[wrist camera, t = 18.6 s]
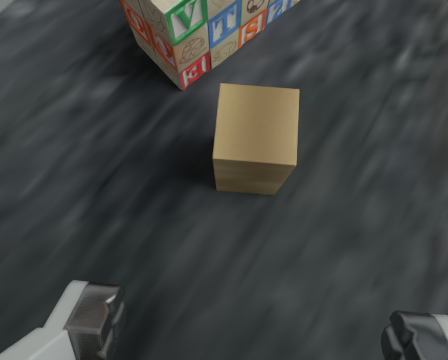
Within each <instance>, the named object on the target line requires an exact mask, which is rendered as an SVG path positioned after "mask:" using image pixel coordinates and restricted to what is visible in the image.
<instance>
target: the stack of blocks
mask: <svg viewBox="0 0 448 360" xmlns="http://www.w3.org/2000/svg"><path fill="white" fill-rule="evenodd" d="M119 1H120V3H121V6H122V8H123V10H124V13H125V15H126V18H127V20H128V22H129V24H130V27H131V29H132V31H133V34H134V36H135V39H136V41H137V43H138V45H139V46H140V47H141V48H142V49H143V50H144V51H145V52H146V53H147V54H148V56H149V57H150V58H151V59H152V60H153V61H154V62H155V63H156V64H157V65H158V66H159V67H160V68H161V70H162V71H163V72H164V73H165V74H166V75H167V76H168V77H169V78H170V79H171V80H172V81H173V82H174V83H175V84H176V85H177V86H178V88H180V89H181V90H182V91H184V90H185V89H186V87H187V86H188V85H190V84H191V83H192V82H193V81H195V80H196V79H197V78H199V77H200V76H201V75H203V73H204V72H207V71H209V70H210V69H213V68H215V67H216V66H217V65H219V64H220V63H221V62H222V61H224V60H225V59H226V58H227V57H229V56H230V55H231V54H233V53H234V52H235V51H236V50H238V49H239V48H240V47H241V46H242V45H243V44H244V43H245V42H246V41H248V40H249V39H250V38H252V37H253V36H254V35H255V34H257V33H258V32H259V31H262V30H264V28H265V27H266V26H267V24H268V23H269V22H271V21H273V20H275V19H276V18H278V17H279V16H280V15H281V14H282V12H283V11H285V10H288V9H290V8H291V7H292V6H293V5H295V4H296V3H297V2H298V1H300V0H119Z"/></svg>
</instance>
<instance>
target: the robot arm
mask: <svg viewBox="0 0 448 360" xmlns="http://www.w3.org/2000/svg"><path fill="white" fill-rule="evenodd" d="M124 294H125V292H124V287H123V286H121V285H113V284H104V283H96V282H87V281H78V280H73V281H72V282H70V283H69V284H68V286H67V287H66V289H65V291H64V292H63V294H62V296H61V298H60V299H59V301H58V303H57V304H56V306H55V308H54V309H53V311H52V313H51V315H50V316H49V318H48V320H47V321H46V323H45V325H44V326H43V328H36V329H35V330H33V331H32V332H30V333H29V334H28V335H26V336H25V337H23V338H22V339H20V340H19V341H18V342H16V343H15V344H13V345H12V346H10V347H9V348H8V349H6V350H5V351H3V352H2V353H0V360H113V357H114V354H115V351H116V344H115V340H116V339H117V338H118V337H119V336H120V335H121V334H122V332H123V329H124V326H125V321H126V316H127V306H126V302H125V301H123V300H122V299H123V296H124ZM390 321H391V323H392V324H390V325H388V326H387V327H385V328H384V330H383V333H382V337H381V346H382V352H383V355H384V358H385V360H448V315H438V314H429V313H419V312H407V311H395V312H393V313H392V314H391V316H390Z"/></svg>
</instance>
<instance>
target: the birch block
mask: <svg viewBox="0 0 448 360" xmlns="http://www.w3.org/2000/svg"><path fill="white" fill-rule="evenodd" d="M298 110H299V89H287V88H275V87H262V86H249V85H236V84H224V83H220V89H219V98H218V108H217V118H216V128H215V138H214V148H213V157H212V158H213V166H214V174H215V182H216V190H219V191H230V192H242V193H253V194H265V195H275V193H276V192H277V191H278V189H279V188H280V186H281V185H282V184H283V182H284V181H285V180H286V178H287V177H288V176H289V174H290V173H291V172H292V170H293V169H294V167H295V166H296V160H297V135H298Z"/></svg>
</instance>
